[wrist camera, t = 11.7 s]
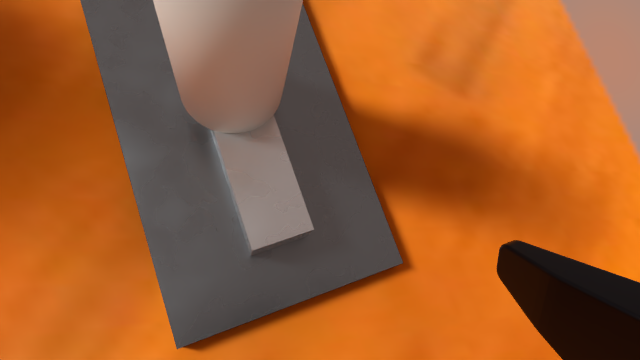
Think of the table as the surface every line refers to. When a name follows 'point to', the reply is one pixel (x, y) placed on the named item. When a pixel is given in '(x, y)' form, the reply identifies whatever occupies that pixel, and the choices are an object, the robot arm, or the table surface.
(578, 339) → the robot arm
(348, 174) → the ridge plate
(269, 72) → the off-white dowel
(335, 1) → the table surface
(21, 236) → the table surface
